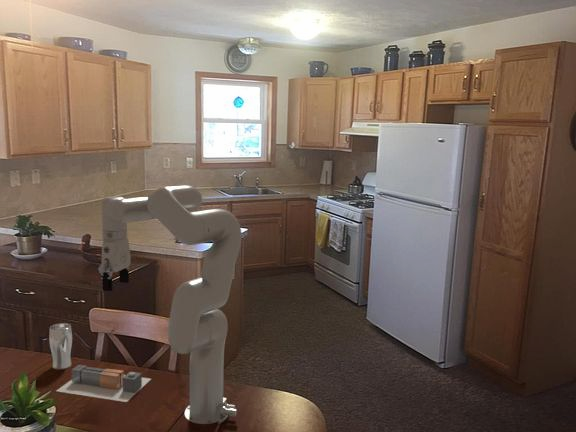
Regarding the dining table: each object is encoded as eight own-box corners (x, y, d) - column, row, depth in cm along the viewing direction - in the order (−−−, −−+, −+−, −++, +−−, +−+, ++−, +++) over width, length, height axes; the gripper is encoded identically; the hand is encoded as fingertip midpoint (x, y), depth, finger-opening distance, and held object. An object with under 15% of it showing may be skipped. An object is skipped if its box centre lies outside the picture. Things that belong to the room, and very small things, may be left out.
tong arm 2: (124, 382, 156) (124, 370, 156) (121, 385, 154) (120, 373, 154) (79, 376, 159) (78, 364, 159) (75, 379, 158) (74, 367, 157)
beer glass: (64, 374, 164) (62, 331, 162) (46, 372, 165) (44, 329, 163) (77, 365, 171) (76, 324, 168) (59, 363, 172) (57, 322, 170)
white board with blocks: (151, 382, 160) (151, 364, 159) (126, 405, 146) (126, 386, 145) (85, 372, 165) (85, 355, 164) (55, 394, 151) (55, 375, 150)
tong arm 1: (120, 386, 154) (119, 373, 153) (116, 389, 152) (116, 376, 151) (75, 379, 158) (75, 367, 157) (71, 382, 156) (71, 369, 155)
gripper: (110, 240, 149) (111, 295, 152) (139, 231, 166) (140, 280, 169) (88, 239, 151) (89, 293, 153) (119, 229, 168) (120, 278, 170)
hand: (116, 286), depth 161 cm, fingers open, 9 cm apart
